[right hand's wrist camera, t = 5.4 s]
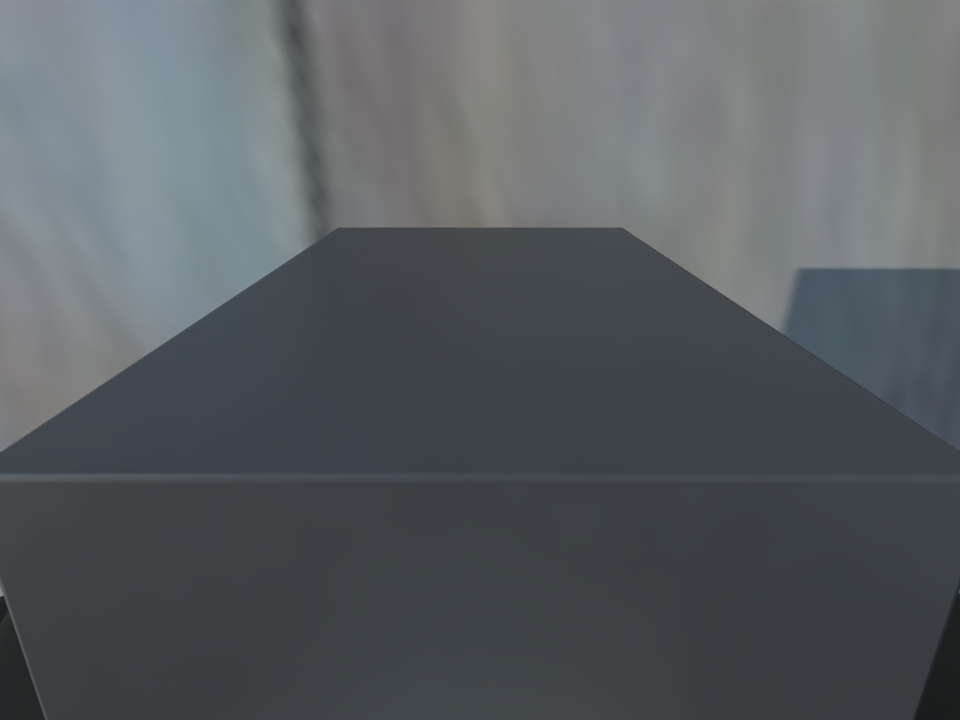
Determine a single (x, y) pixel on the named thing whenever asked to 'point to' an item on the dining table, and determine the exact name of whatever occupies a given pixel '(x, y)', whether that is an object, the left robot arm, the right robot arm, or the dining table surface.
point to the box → (480, 504)
